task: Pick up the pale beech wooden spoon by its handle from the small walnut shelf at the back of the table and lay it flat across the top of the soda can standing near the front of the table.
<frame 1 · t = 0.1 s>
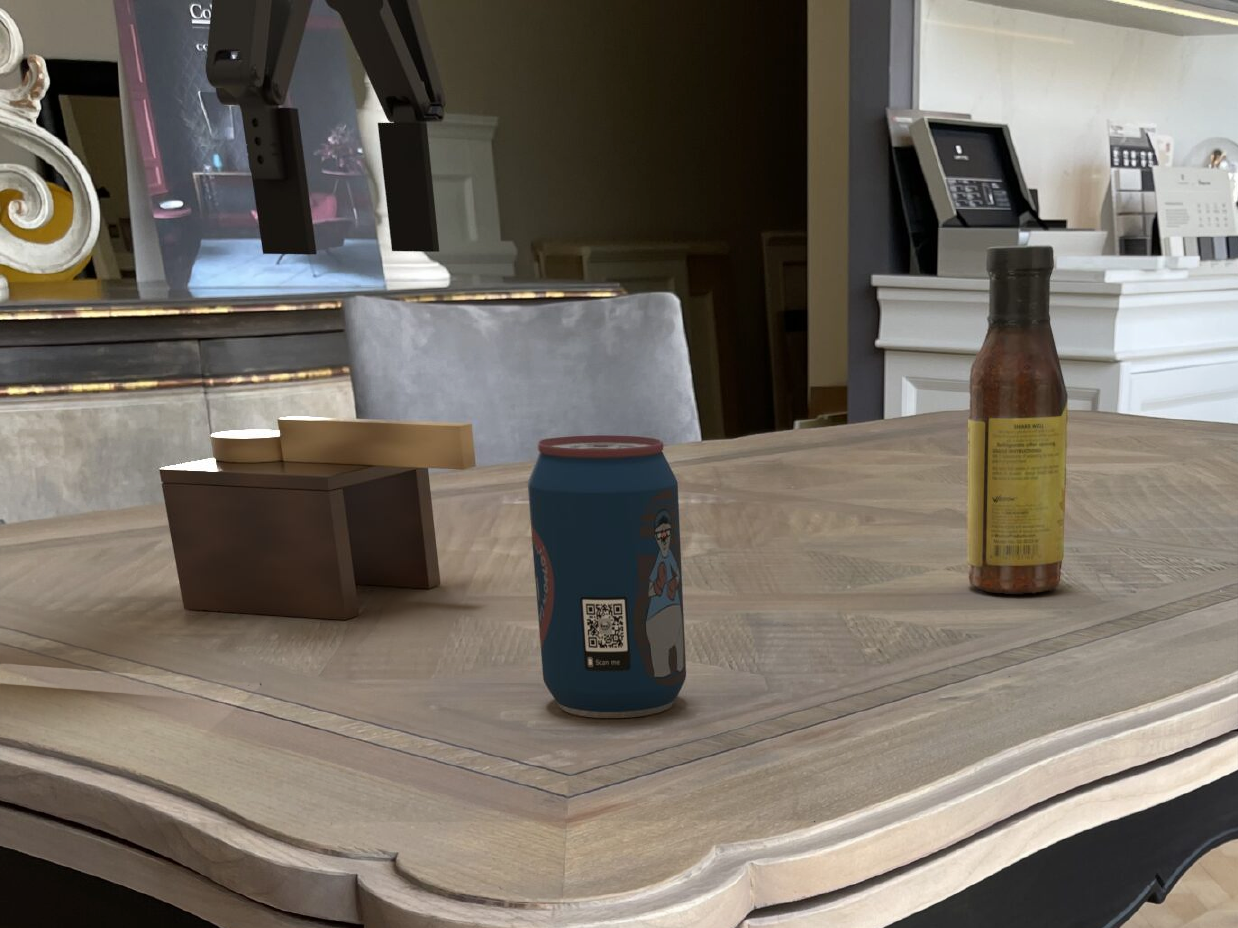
hand: (356, 253, 94), 19 cm above the table, tool pointing down, fingers open, 13 cm apart
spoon: (334, 462, 102), point 8 cm above the table, touching shelf
soda can: (617, 707, 84), on the table
shelf: (316, 596, 107), on the table
sauce bottle: (1011, 591, 111), on the table
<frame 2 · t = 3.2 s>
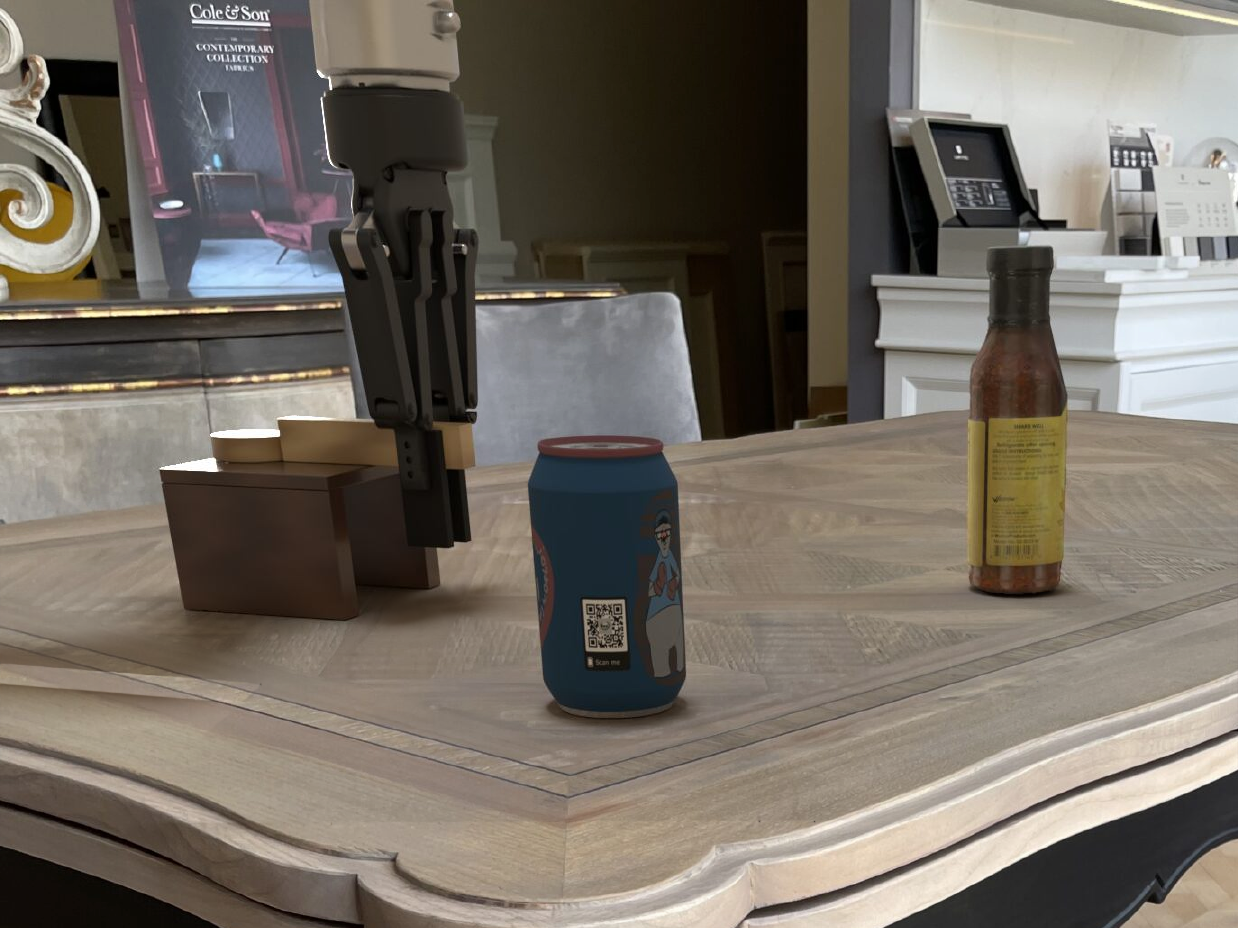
hand: (439, 542, 103), 4 cm above the table, tool pointing down, fingers closed on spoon, 2 cm apart
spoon: (334, 461, 102), point 8 cm above the table, touching gripper
everything else where it was.
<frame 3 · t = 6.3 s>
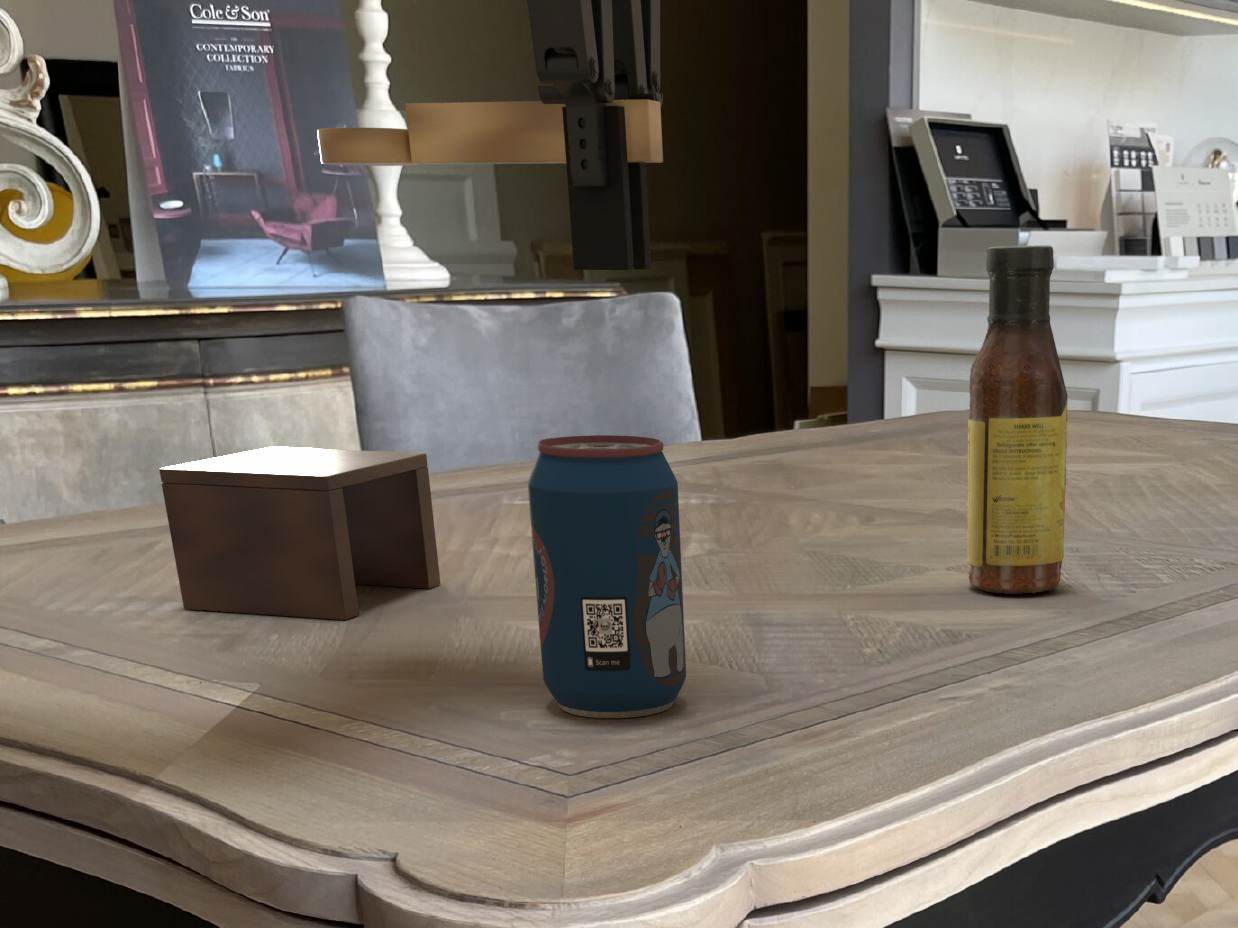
hand: (612, 268, 80), 19 cm above the table, tool pointing down, fingers closed on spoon, 2 cm apart
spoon: (477, 163, 80), point 23 cm above the table, touching gripper
everything else where it was.
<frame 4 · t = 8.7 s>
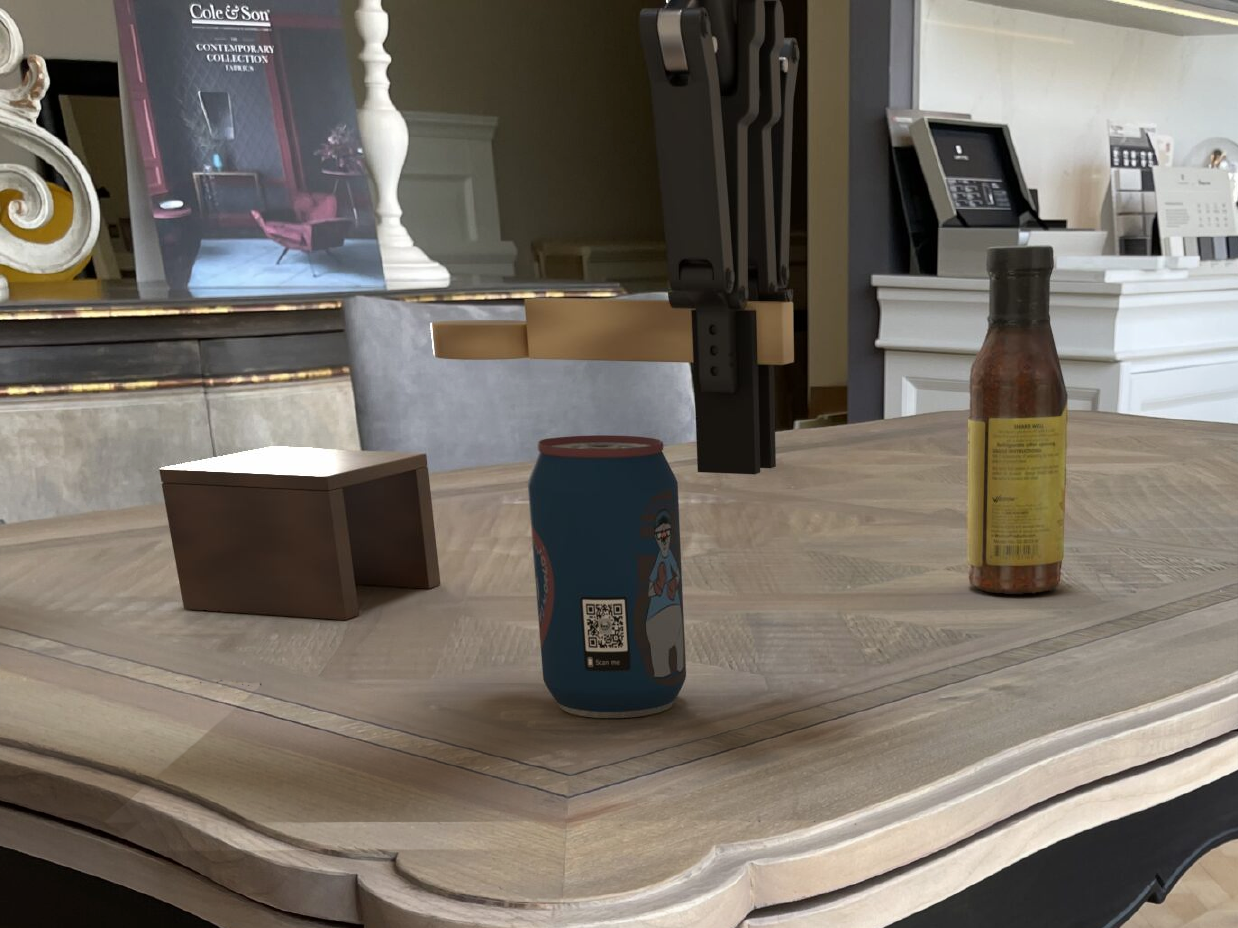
hand: (737, 468, 77), 11 cm above the table, tool pointing down, fingers closed on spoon, 2 cm apart
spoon: (597, 359, 76), point 15 cm above the table, touching gripper
everything else where it was.
when the fingers open (8 cm above the table, at t = 9.8 s): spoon stays where it is, resting on soda can.
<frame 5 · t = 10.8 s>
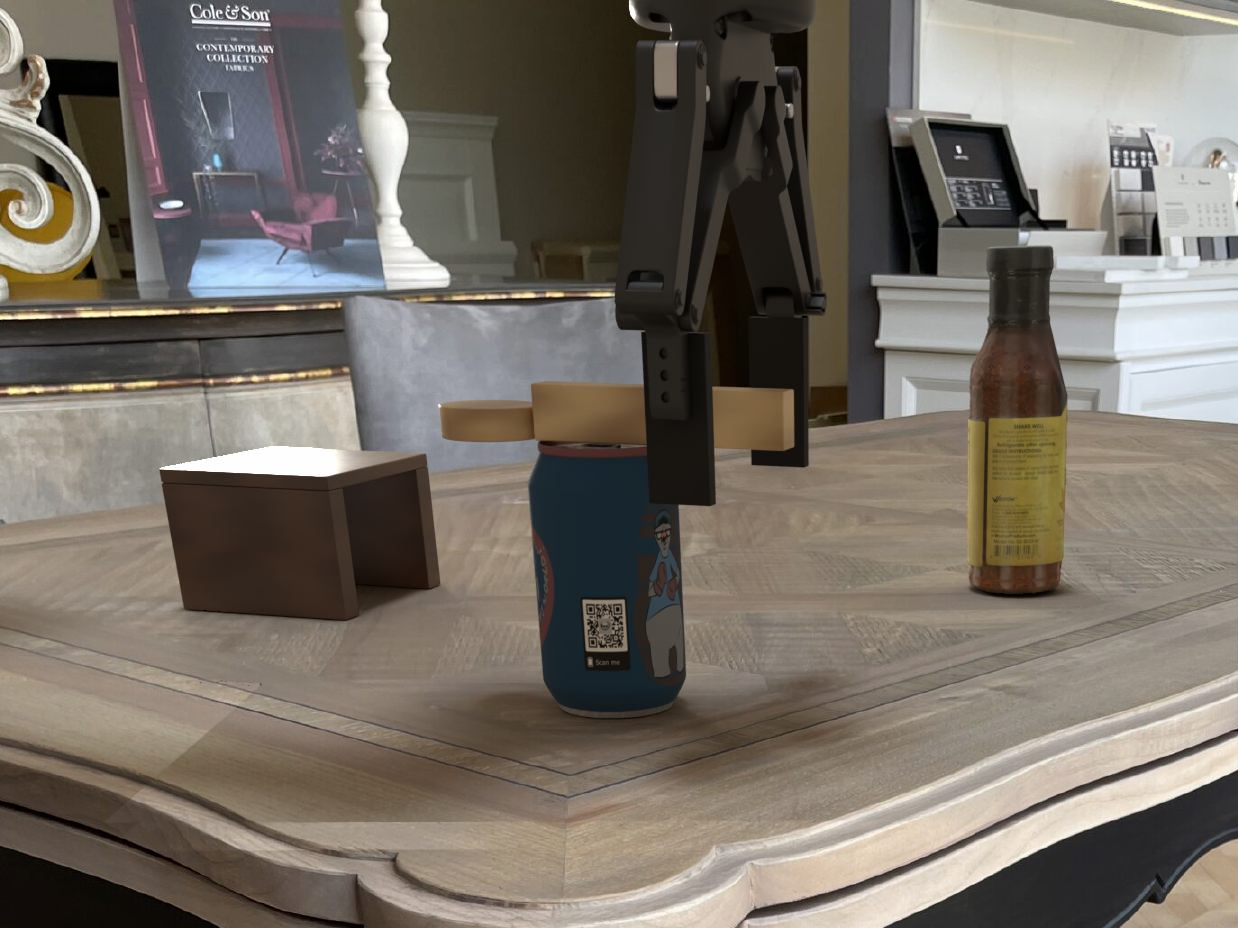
hand: (735, 484, 77), 10 cm above the table, tool pointing down, fingers open, 13 cm apart
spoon: (602, 441, 78), point 12 cm above the table, touching soda can
soda can: (617, 708, 84), on the table, touching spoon
everything else where it was.
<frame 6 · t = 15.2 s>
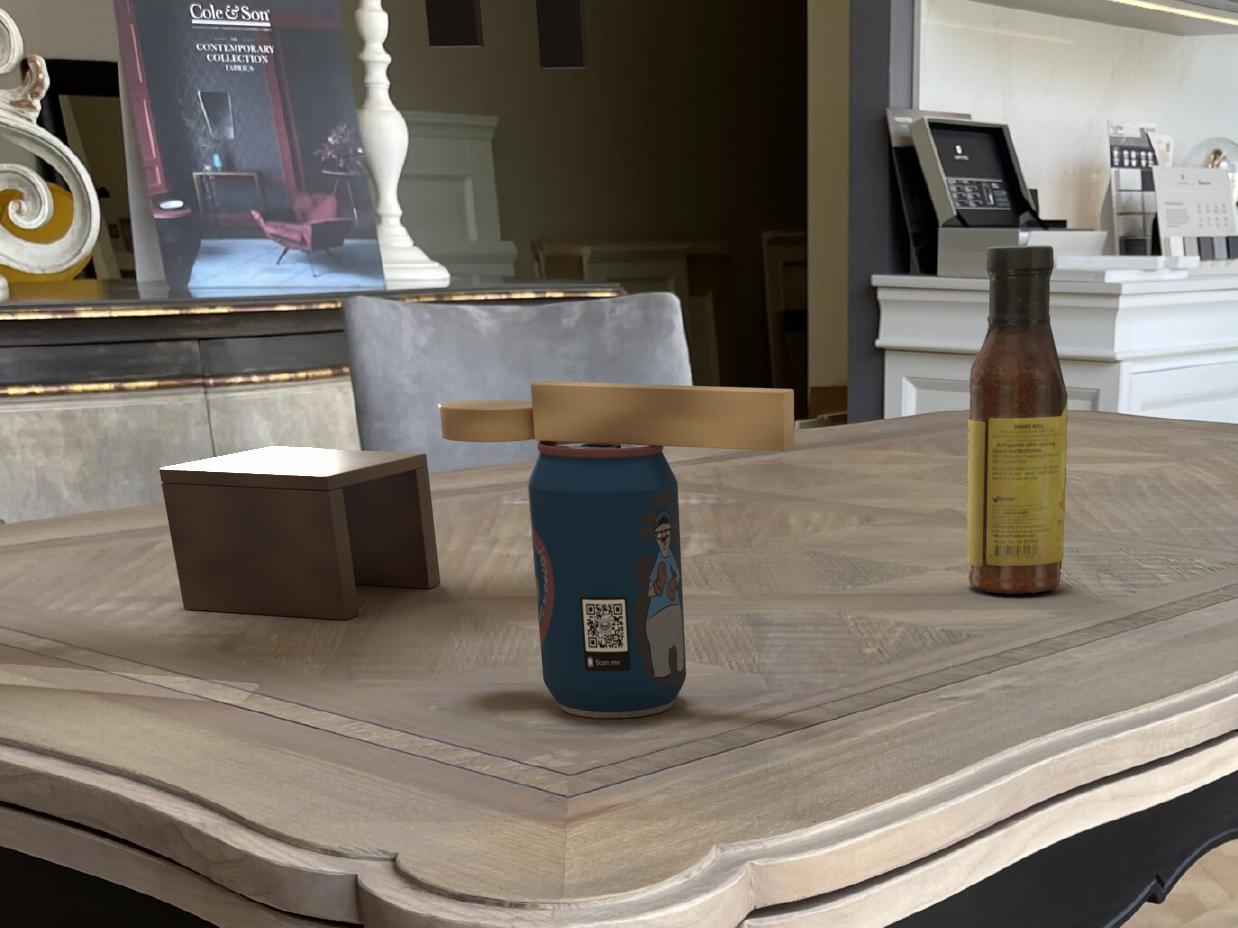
hand: (514, 58, 93), 29 cm above the table, tool pointing down, fingers open, 13 cm apart
nothing on the table moved.
at the end: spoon 0.1 cm off-centre on the soda can, point 12.2 cm above the soda can's base; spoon tilted 0°; the gripper is holding nothing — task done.
